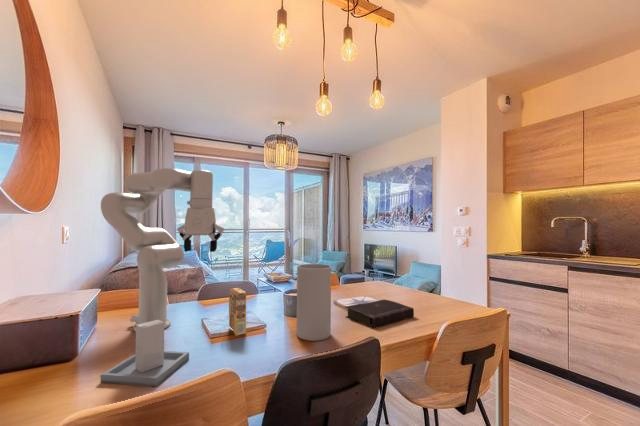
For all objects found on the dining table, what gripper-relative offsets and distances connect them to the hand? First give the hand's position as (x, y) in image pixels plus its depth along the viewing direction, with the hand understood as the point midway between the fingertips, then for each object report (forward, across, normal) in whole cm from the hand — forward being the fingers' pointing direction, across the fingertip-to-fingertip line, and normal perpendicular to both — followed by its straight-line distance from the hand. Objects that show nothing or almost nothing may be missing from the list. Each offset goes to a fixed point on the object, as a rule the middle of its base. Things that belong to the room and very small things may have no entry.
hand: (200, 251), depth 107 cm
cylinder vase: (+31, +41, +6) cm, 51 cm away
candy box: (+31, +12, +6) cm, 33 cm away
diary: (+31, +67, +30) cm, 80 cm away
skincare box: (+30, -1, -25) cm, 39 cm away
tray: (+30, -1, -25) cm, 39 cm away
